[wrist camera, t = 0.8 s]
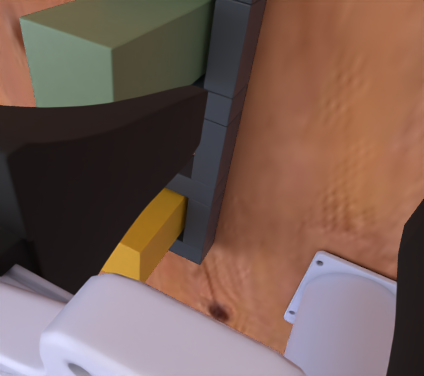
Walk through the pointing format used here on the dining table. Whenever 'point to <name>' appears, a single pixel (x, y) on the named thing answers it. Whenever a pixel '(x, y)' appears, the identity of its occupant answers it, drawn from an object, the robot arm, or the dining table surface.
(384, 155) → the dining table surface
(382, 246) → the dining table surface
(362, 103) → the dining table surface
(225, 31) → the peg stand
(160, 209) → the mustard peg
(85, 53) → the green peg
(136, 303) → the robot arm
